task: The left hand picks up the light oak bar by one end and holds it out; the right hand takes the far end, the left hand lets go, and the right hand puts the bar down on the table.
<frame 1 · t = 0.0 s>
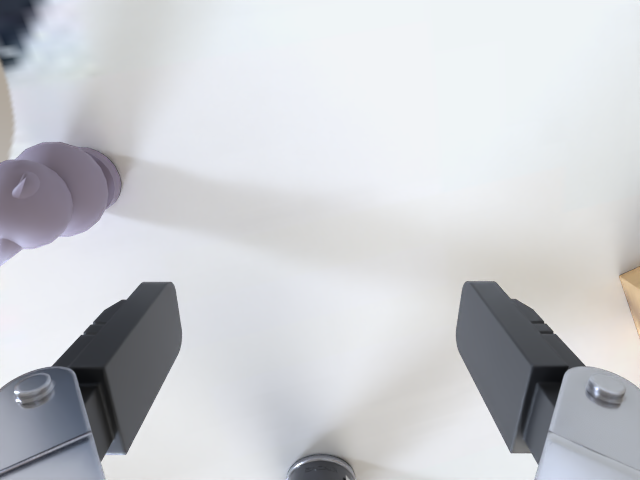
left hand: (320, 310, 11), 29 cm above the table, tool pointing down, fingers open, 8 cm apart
cat figurine: (89, 178, 39), on the table
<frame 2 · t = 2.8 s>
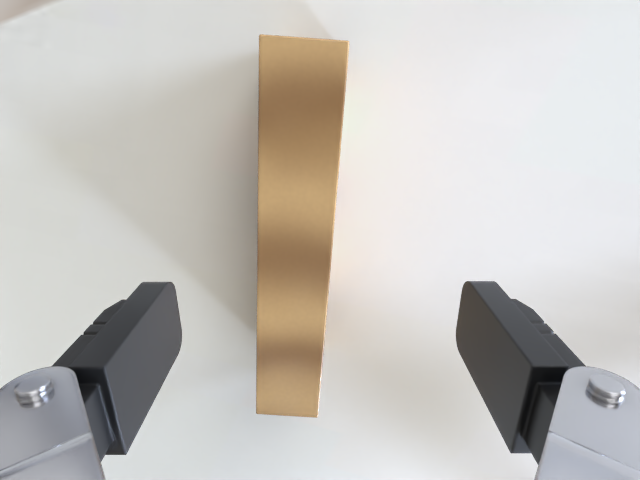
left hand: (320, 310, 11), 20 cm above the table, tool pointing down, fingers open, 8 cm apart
bar: (301, 220, 32), on the table
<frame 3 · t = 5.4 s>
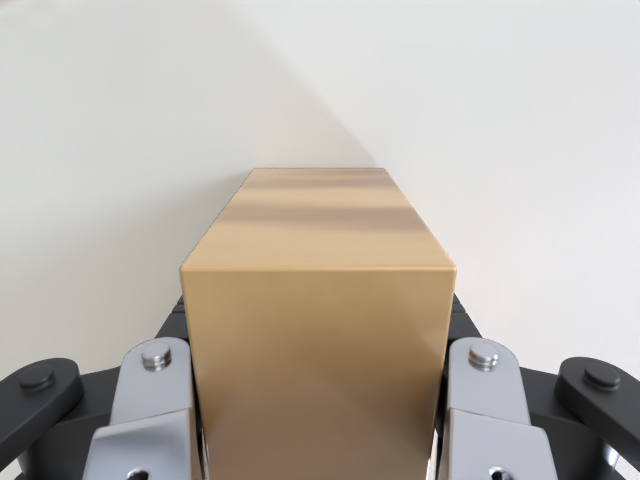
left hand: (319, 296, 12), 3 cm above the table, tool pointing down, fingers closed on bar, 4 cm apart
bar: (319, 436, 18), on the table, touching left hand
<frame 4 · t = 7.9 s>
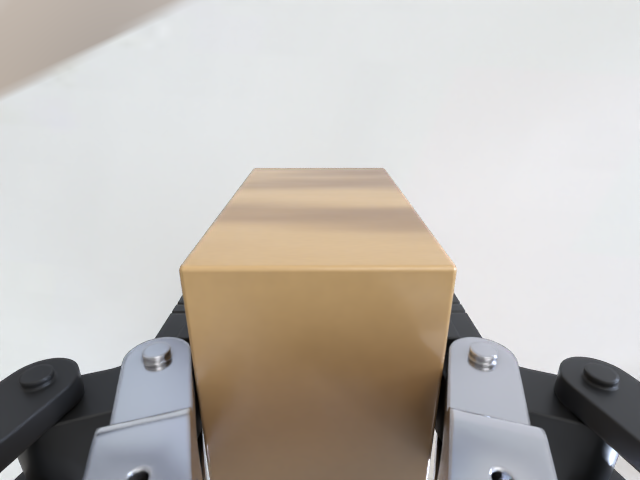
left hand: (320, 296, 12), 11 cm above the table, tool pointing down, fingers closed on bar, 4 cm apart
bar: (319, 436, 18), point 8 cm above the table, touching left hand
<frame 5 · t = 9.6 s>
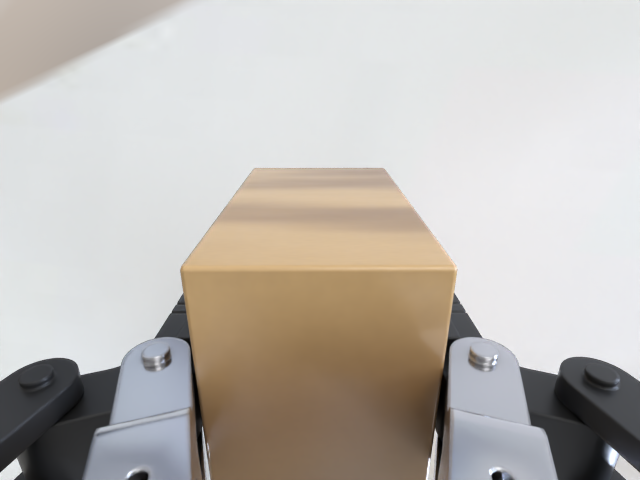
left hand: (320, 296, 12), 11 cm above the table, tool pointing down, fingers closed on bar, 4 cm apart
bar: (319, 436, 18), point 8 cm above the table, touching left hand, right hand
when the left hand's fingers open (11 cm above the table, at t = 10.5 s): bar stays where it is, held by the right hand.
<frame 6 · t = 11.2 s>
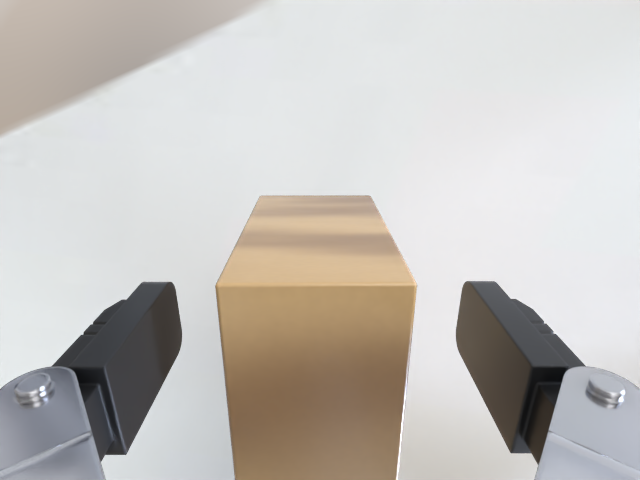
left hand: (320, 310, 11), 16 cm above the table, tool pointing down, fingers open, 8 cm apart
bar: (315, 429, 21), point 10 cm above the table, touching right hand
when the right hand's fingers open (4 cm above the table, at t = 14.9 s): bar drops 1 cm, on the table.
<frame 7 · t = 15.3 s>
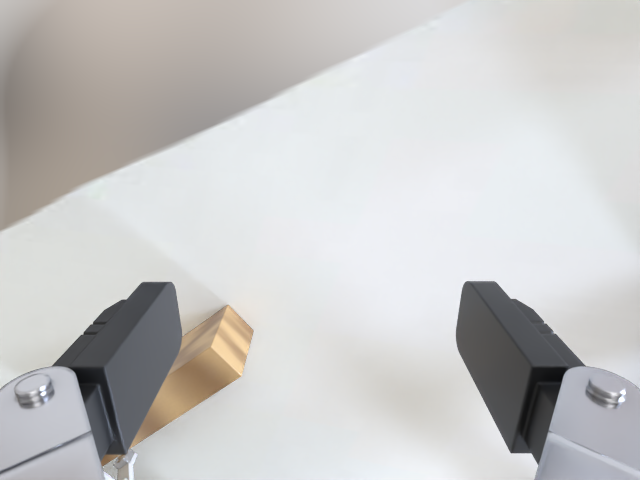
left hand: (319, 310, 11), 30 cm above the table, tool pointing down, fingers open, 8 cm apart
bar: (166, 369, 49), on the table
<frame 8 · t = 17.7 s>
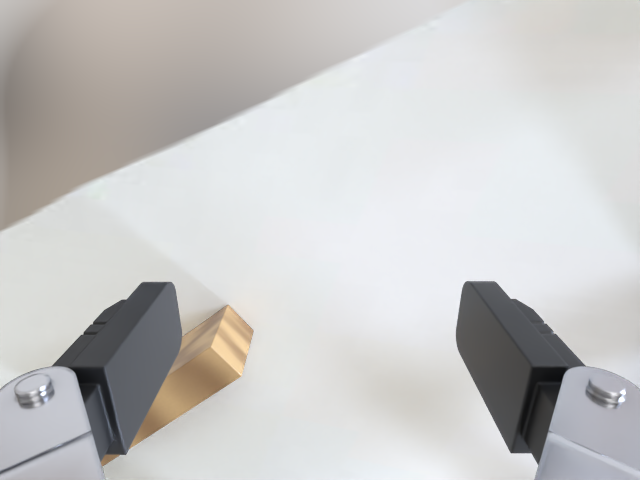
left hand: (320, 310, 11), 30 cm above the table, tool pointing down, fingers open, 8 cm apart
bar: (166, 369, 49), on the table
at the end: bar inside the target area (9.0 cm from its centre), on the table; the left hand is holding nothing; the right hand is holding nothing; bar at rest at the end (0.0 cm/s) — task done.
